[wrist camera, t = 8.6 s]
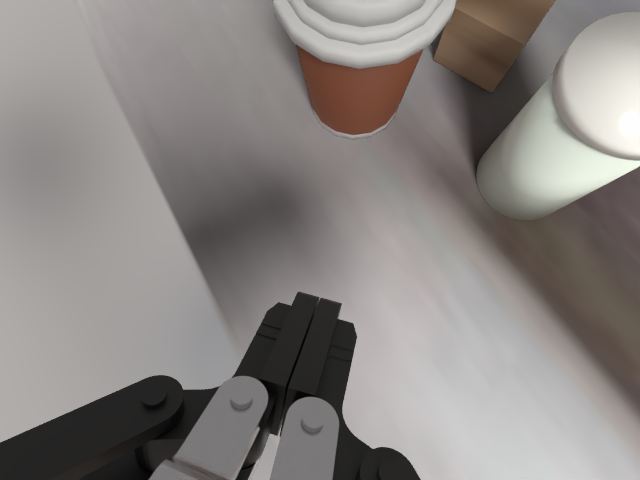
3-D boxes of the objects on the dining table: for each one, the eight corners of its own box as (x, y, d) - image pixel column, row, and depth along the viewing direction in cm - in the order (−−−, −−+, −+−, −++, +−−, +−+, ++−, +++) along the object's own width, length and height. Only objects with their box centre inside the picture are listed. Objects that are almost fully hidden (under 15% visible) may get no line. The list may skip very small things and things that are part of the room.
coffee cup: (436, 133, 27) (510, -11, 16) (315, 173, 27) (300, 57, 16) (390, 30, 30) (425, -164, 18) (277, 67, 29) (237, -106, 18)
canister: (519, 119, 27) (636, -14, 17) (589, 183, 26) (763, 84, 16) (453, 174, 27) (532, 71, 16) (522, 243, 26) (656, 181, 15)
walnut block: (467, 13, 30) (493, -49, 25) (525, 44, 29) (564, -13, 24) (432, 60, 29) (452, 6, 24) (491, 94, 28) (524, 44, 23)
